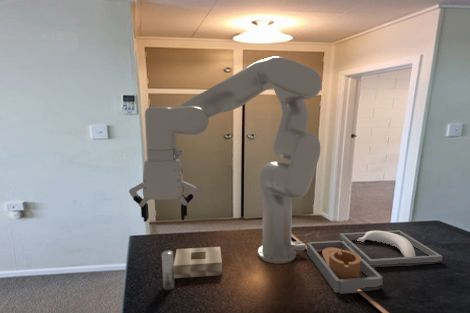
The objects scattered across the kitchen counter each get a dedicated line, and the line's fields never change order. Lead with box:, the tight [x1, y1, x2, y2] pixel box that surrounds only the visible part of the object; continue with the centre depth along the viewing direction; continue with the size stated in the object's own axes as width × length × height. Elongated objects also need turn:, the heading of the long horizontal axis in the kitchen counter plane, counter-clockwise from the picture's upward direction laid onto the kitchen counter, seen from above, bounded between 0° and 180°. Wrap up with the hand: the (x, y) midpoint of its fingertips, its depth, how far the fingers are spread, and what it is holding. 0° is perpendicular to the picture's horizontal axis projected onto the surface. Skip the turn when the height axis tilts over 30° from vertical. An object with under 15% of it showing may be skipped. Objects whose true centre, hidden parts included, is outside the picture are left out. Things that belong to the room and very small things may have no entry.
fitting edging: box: [306, 240, 384, 295], centre depth 87 cm, size 13×23×4 cm, turn 6°
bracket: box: [321, 248, 361, 279], centre depth 87 cm, size 18×8×7 cm, turn 175°
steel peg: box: [161, 250, 175, 291], centre depth 79 cm, size 3×3×10 cm
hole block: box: [173, 246, 223, 279], centre depth 89 cm, size 14×10×4 cm
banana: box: [357, 230, 416, 257], centre depth 98 cm, size 5×19×15 cm
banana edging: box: [338, 229, 443, 265], centre depth 98 cm, size 24×20×2 cm
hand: (164, 219), depth 76 cm, fingers open, 9 cm apart
